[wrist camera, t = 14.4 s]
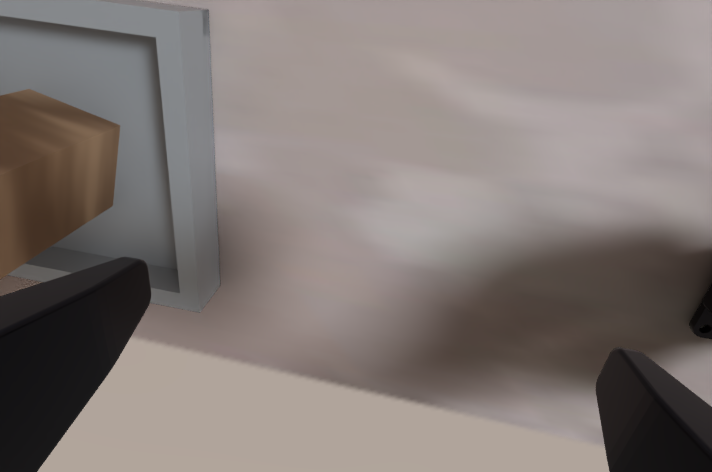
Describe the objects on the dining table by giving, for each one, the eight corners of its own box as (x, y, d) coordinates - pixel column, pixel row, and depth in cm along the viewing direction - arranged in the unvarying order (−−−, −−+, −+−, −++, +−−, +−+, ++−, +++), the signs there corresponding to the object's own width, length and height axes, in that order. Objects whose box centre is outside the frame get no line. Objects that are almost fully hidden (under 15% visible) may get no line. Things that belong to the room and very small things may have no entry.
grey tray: (208, 9, 19) (178, 11, 17) (220, 285, 26) (199, 312, 24) (-94, -31, 20) (-158, -34, 18) (-8, 242, 27) (-47, 264, 25)
